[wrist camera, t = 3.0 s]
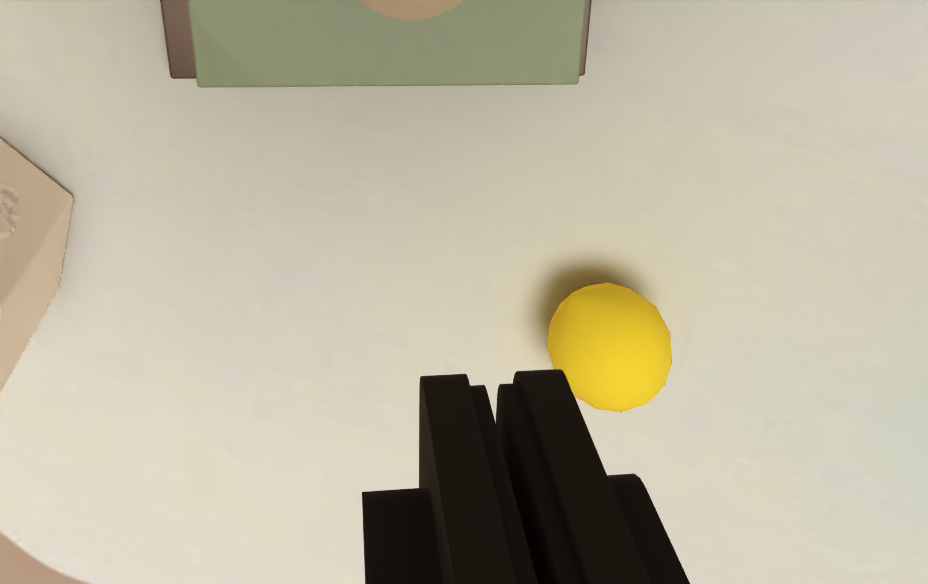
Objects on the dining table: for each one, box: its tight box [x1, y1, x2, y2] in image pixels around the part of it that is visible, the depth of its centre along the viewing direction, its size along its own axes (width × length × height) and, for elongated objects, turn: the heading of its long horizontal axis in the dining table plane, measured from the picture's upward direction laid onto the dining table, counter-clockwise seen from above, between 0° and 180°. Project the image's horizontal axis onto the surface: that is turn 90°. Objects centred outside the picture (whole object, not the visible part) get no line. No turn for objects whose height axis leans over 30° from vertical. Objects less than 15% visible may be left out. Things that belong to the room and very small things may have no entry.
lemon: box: [547, 283, 672, 412], centre depth 40 cm, size 7×5×5 cm
